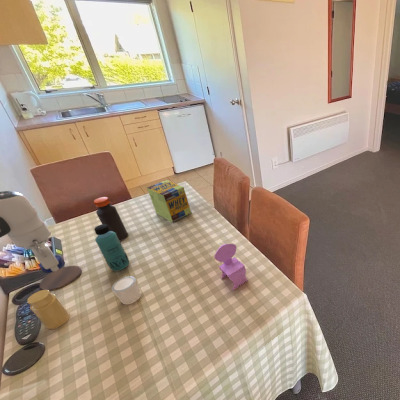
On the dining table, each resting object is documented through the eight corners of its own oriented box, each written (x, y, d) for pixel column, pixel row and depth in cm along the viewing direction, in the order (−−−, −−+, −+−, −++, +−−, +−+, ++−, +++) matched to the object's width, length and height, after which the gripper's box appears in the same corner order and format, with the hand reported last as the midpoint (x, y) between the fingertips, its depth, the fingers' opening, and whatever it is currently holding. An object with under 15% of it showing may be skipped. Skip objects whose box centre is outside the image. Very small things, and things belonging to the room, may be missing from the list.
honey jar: (42, 331, 81) (20, 307, 75) (50, 316, 86) (30, 291, 80) (66, 325, 83) (46, 300, 77) (72, 310, 88) (54, 285, 82)
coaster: (33, 295, 93) (32, 294, 93) (48, 272, 103) (47, 270, 102) (75, 284, 97) (75, 283, 97) (86, 263, 107) (85, 262, 106)
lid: (67, 265, 97) (63, 259, 96) (45, 275, 93) (40, 269, 92) (62, 258, 100) (58, 253, 99) (41, 268, 96) (37, 262, 95)
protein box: (173, 223, 130) (163, 195, 122) (156, 213, 137) (145, 187, 130) (192, 213, 138) (184, 186, 130) (175, 204, 145) (166, 179, 137)
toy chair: (231, 293, 93) (222, 261, 85) (218, 280, 98) (209, 249, 90) (251, 279, 98) (244, 248, 91) (237, 268, 103) (231, 237, 96)
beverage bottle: (108, 271, 102) (84, 230, 92) (124, 260, 108) (103, 219, 98) (119, 276, 100) (96, 234, 90) (135, 264, 106) (115, 223, 95)
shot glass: (114, 304, 89) (106, 290, 86) (130, 288, 95) (122, 274, 92) (132, 307, 88) (124, 293, 85) (147, 291, 94) (140, 277, 91)
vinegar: (128, 238, 120) (110, 200, 110) (110, 244, 117) (90, 205, 106) (128, 231, 125) (110, 194, 115) (110, 236, 121) (91, 198, 111)
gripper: (51, 242, 86) (72, 272, 93) (37, 220, 97) (56, 249, 104) (24, 252, 82) (48, 284, 89) (12, 229, 92) (35, 258, 100)
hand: (52, 265), depth 96 cm, fingers closed on lid, 6 cm apart
